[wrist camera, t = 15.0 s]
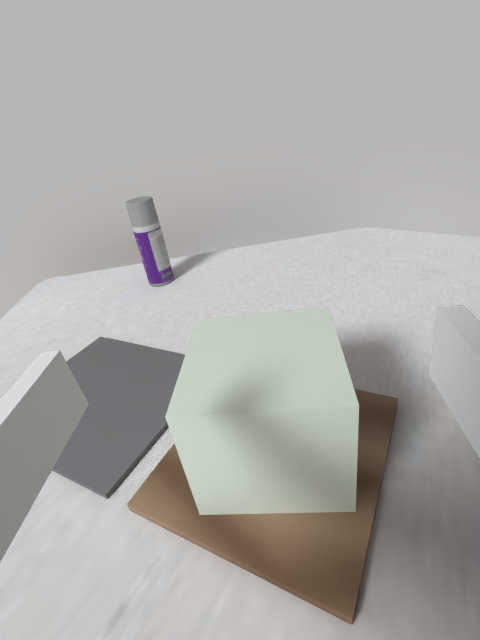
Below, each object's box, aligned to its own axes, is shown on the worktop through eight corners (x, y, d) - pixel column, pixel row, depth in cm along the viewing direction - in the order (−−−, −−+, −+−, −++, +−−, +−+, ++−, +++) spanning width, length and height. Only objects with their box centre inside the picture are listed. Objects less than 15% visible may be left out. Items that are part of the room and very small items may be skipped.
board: (237, 369, 41) (236, 364, 40) (397, 404, 33) (397, 398, 33) (130, 510, 28) (126, 504, 27) (352, 624, 20) (352, 618, 19)
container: (144, 284, 67) (119, 203, 60) (163, 274, 70) (141, 195, 62) (159, 288, 64) (135, 204, 57) (179, 278, 67) (158, 196, 59)
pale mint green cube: (217, 405, 35) (196, 319, 30) (331, 398, 34) (329, 307, 29) (199, 514, 26) (165, 416, 21) (355, 511, 24) (359, 405, 19)
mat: (101, 339, 51) (100, 336, 51) (218, 365, 42) (218, 362, 42) (-23, 431, 38) (-26, 428, 38) (107, 498, 29) (105, 495, 29)
